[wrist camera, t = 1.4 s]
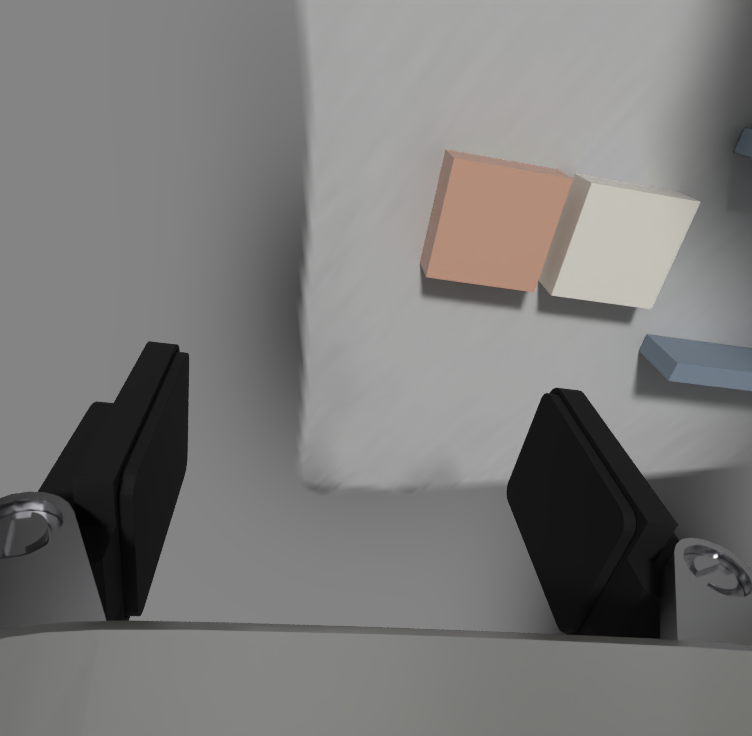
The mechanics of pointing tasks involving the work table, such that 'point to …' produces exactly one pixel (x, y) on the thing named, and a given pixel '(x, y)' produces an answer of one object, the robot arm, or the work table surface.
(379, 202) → the work table surface
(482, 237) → the terracotta tile
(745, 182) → the work table surface
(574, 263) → the cream tile
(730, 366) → the box
